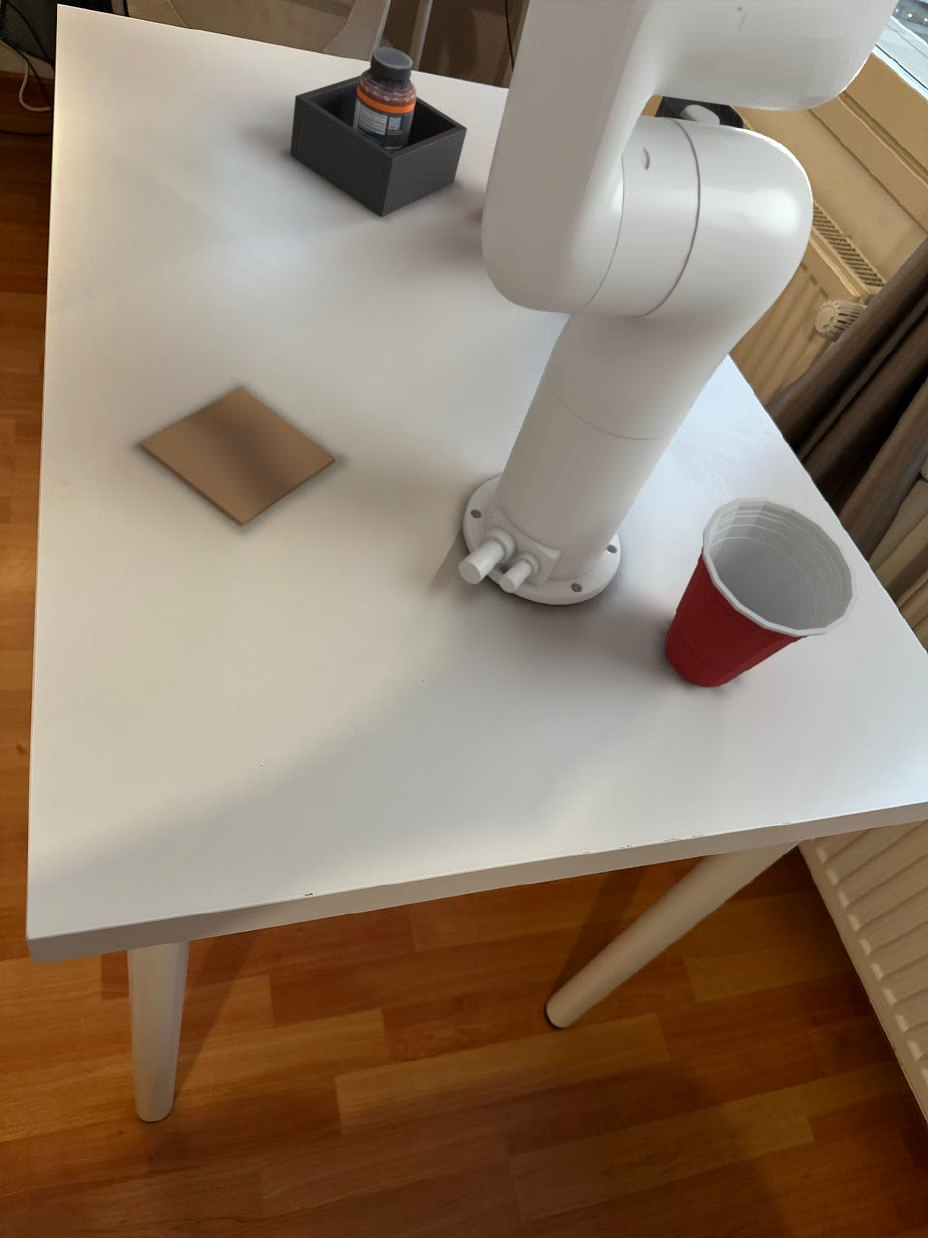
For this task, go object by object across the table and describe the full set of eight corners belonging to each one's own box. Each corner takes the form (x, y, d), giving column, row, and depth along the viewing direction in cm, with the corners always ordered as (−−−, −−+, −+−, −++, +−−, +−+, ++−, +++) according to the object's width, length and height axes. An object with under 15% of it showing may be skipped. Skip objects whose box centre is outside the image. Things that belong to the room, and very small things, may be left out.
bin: (381, 216, 89) (392, 159, 84) (289, 154, 91) (295, 95, 87) (453, 182, 96) (467, 128, 92) (366, 126, 99) (375, 69, 94)
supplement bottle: (370, 148, 96) (389, 36, 87) (412, 175, 95) (435, 64, 86) (334, 162, 93) (350, 47, 84) (377, 191, 92) (398, 77, 83)
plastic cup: (616, 681, 63) (692, 580, 53) (647, 578, 69) (720, 472, 60) (754, 745, 62) (856, 656, 53) (773, 635, 69) (866, 539, 60)
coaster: (241, 526, 62) (242, 522, 62) (141, 447, 64) (141, 443, 64) (335, 461, 68) (335, 457, 68) (240, 390, 70) (240, 386, 69)
